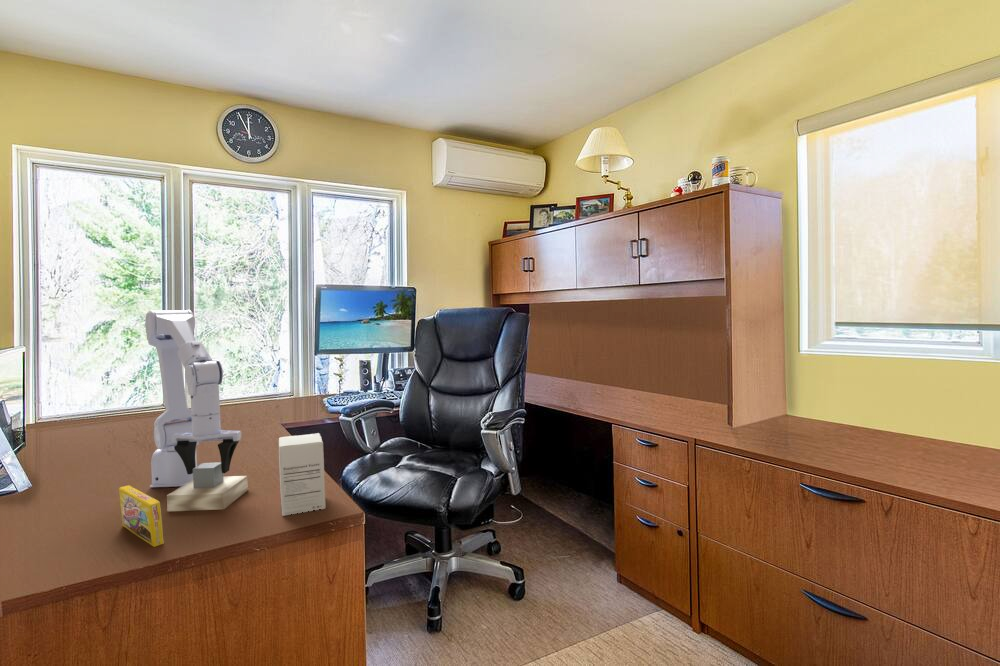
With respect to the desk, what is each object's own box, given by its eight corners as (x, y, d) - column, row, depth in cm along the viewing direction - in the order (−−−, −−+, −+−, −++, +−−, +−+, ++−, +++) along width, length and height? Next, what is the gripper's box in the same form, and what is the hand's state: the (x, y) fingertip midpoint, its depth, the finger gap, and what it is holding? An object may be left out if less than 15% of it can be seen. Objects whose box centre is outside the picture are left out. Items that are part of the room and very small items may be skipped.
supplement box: (280, 502, 116) (278, 436, 115) (322, 495, 120) (320, 432, 119) (281, 516, 108) (278, 446, 107) (326, 509, 111) (323, 441, 111)
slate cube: (193, 488, 116) (192, 468, 116) (203, 481, 121) (203, 462, 120) (214, 487, 116) (213, 467, 116) (223, 481, 121) (222, 462, 121)
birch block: (167, 513, 112) (166, 495, 112) (197, 493, 124) (196, 477, 124) (224, 511, 113) (223, 493, 112) (248, 492, 125) (247, 475, 124)
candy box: (120, 527, 104) (118, 487, 104) (132, 523, 106) (130, 484, 106) (151, 548, 94) (149, 503, 94) (164, 544, 96) (162, 500, 96)
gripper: (162, 418, 113) (165, 479, 114) (230, 416, 114) (232, 476, 114) (180, 412, 120) (183, 469, 121) (244, 410, 121) (246, 467, 122)
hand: (208, 472), depth 118 cm, fingers open, 7 cm apart
